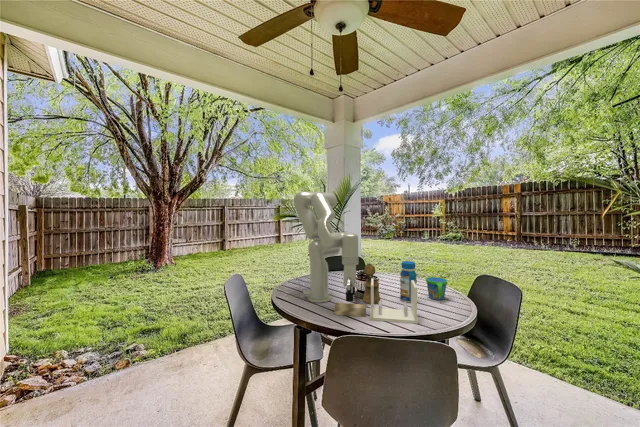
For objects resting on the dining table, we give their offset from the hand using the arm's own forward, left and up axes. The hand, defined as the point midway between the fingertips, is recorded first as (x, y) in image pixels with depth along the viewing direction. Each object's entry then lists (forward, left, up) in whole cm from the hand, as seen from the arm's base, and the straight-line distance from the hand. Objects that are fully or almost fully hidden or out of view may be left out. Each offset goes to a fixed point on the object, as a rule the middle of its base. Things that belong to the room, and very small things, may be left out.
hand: (350, 297), depth 129 cm
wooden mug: (+9, +21, -8) cm, 24 cm away
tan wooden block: (0, 0, -8) cm, 8 cm away
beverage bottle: (+28, +24, -8) cm, 38 cm away
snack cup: (+43, +30, -8) cm, 53 cm away
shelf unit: (+19, 0, -7) cm, 20 cm away
